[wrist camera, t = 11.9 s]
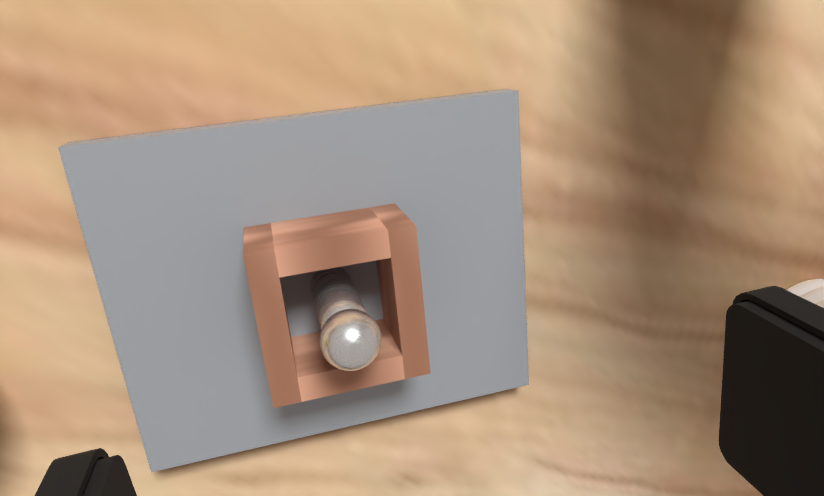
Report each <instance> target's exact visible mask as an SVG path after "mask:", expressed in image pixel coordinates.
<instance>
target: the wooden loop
mask: <svg viewBox="0 0 824 496" xmlns="http://www.w3.org/2000/svg"><path fill="white" fill-rule="evenodd" d="M243 257H244V262H245V267H246V272H247V277H248V282H249V287H250V292H251V297H252V302H253V307H254V312H255V317H256V322H257V327H258V332H259V337H260V342H261V347H262V352H263V357H264V362H265V368H266V373H267V378H268V383H269V388H270V393H271V398H272V403H273V408H277V407H281V406H286V405H290V404H295V403H299V402H304V401H308V400H313V399H317V398H322V397H326V396H331V395H335V394H340V393H344V392H349V391H353V390H358V389H363V388H367V387H372V386H376V385H381V384H385V383H390V382H394V381H399V380H403V379H408V378H412V377H417V376H421V375H426V374H430V373H431V372H430V362H429V351H428V341H427V331H426V321H425V310H424V300H423V290H422V279H421V269H420V259H419V249H418V238H417V228H416V225H415V224H414V223H413V222H412V221H411V220H410V219H409V218H408V217H407V215H406V214H405V213H404V212H403V211H402V210H401V209H400V208H399V207H398V206H397V205H396V204H395V203H394V204H387V205H381V206H375V207H369V208H362V209H356V210H350V211H343V212H337V213H331V214H324V215H318V216H312V217H306V218H299V219H293V220H287V221H280V222H274V223H268V224H261V225H255V226H249V227H244V237H243ZM375 260H376V261H377V269H378V277H379V286H380V294H381V302H382V310H383V318H384V319H379V320H375V321H376V323H377V324H378V326H379V329H380V332H381V347H380V350H379V353H378V355H377V356H376V358H375V359H374V360H373V361H372V362H371V363H370V364H369V365H368V366H366V367H364V368H362V369H360V370H356V371H345V370H341V369H338V368H336V367H334V366H333V365H331V364H330V363H329V362H328V361H327V360H326V359H325V357H324V355H323V353H322V351H321V348H320V333H321V331H319V332H314V333H309V334H304V335H299V336H294V337H291V333H290V327H289V322H288V316H287V311H286V305H285V299H284V294H283V288H282V283H281V277H285V276H291V275H297V274H302V273H308V272H313V271H319V270H325V269H330V268H336V267H342V266H347V265H353V264H359V263H364V262H370V261H375Z"/></svg>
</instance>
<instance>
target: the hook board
mask: <svg viewBox="0 0 824 496" xmlns="http://www.w3.org/2000/svg"><path fill="white" fill-rule="evenodd" d="M58 149H59V152H60V155H61V159H62V162H63V166H64V169H65V173H66V176H67V180H68V183H69V187H70V190H71V194H72V197H73V201H74V204H75V208H76V211H77V215H78V218H79V222H80V225H81V229H82V232H83V236H84V239H85V243H86V246H87V250H88V253H89V257H90V260H91V264H92V267H93V271H94V274H95V278H96V281H97V285H98V288H99V291H100V295H101V298H102V302H103V305H104V309H105V312H106V316H107V319H108V323H109V326H110V330H111V333H112V337H113V340H114V344H115V347H116V351H117V354H118V358H119V361H120V365H121V368H122V372H123V375H124V379H125V382H126V386H127V389H128V393H129V396H130V400H131V403H132V407H133V410H134V414H135V417H136V421H137V424H138V427H139V431H140V434H141V438H142V441H143V445H144V448H145V452H146V455H147V459H148V462H149V466H150V469H151V472H155V471H159V470H163V469H168V468H172V467H176V466H181V465H185V464H189V463H194V462H198V461H202V460H207V459H211V458H215V457H220V456H224V455H228V454H232V453H237V452H241V451H245V450H250V449H254V448H258V447H263V446H267V445H271V444H276V443H280V442H284V441H288V440H293V439H297V438H301V437H306V436H310V435H314V434H319V433H323V432H327V431H332V430H336V429H340V428H345V427H349V426H353V425H357V424H362V423H366V422H370V421H375V420H379V419H383V418H388V417H392V416H396V415H401V414H405V413H409V412H413V411H418V410H422V409H426V408H431V407H435V406H439V405H444V404H448V403H452V402H457V401H461V400H465V399H470V398H474V397H478V396H482V395H487V394H491V393H495V392H500V391H504V390H508V389H513V388H517V387H521V386H526V385H529V377H528V349H527V321H526V292H525V264H524V236H523V208H522V180H521V152H520V124H519V96H518V91H517V90H510V89H501V90H493V91H485V92H477V93H468V94H460V95H452V96H444V97H436V98H428V99H419V100H411V101H403V102H395V103H387V104H379V105H370V106H362V107H354V108H346V109H338V110H330V111H321V112H313V113H305V114H297V115H289V116H281V117H272V118H264V119H256V120H248V121H240V122H232V123H223V124H215V125H207V126H199V127H191V128H183V129H174V130H166V131H158V132H150V133H142V134H134V135H125V136H117V137H109V138H101V139H93V140H85V141H76V142H68V143H66V144H64V145H62V146H60V147H58ZM394 203H395V204H396V205H397V206H398V207H399V208H400V209H401V210H402V211H403V212H404V213H405V214H406V215H407V217H408V218H409V219H410V220H411V221H412V222H413V223H414V224H415V225H416V228H417V238H418V249H419V259H420V269H421V279H422V290H423V300H424V310H425V321H426V331H427V341H428V351H429V362H430V372H431V373H430V374H426V375H421V376H417V377H412V378H408V379H403V380H399V381H394V382H390V383H385V384H381V385H376V386H372V387H367V388H363V389H358V390H353V391H349V392H344V393H340V394H335V395H331V396H326V397H322V398H317V399H313V400H308V401H304V402H299V403H295V404H290V405H286V406H281V407H277V408H273V403H272V398H271V393H270V388H269V383H268V378H267V373H266V368H265V362H264V357H263V352H262V347H261V342H260V337H259V332H258V327H257V322H256V317H255V312H254V307H253V302H252V297H251V292H250V287H249V282H248V277H247V272H246V267H245V262H244V257H243V237H244V227H249V226H255V225H261V224H268V223H274V222H280V221H287V220H293V219H299V218H306V217H312V216H318V215H324V214H331V213H337V212H343V211H350V210H356V209H362V208H369V207H375V206H381V205H387V204H394ZM341 268H343V269H345V270H346V271H347V272H348V273H349V275H350V277H351V279H352V281H353V283H354V286H355V288H356V290H357V292H358V294H359V297H360V299H361V301H362V303H363V305H364V308H365V310H366V312H367V314H369V315H370V316H371V317H372V318H373V319H374V320H379V319H384V318H383V310H382V302H381V294H380V286H379V277H378V269H377V261H376V260H375V261H370V262H364V263H359V264H353V265H347V266H342V267H341ZM316 272H317V271H313V272H308V273H302V274H297V275H291V276H285V277H281V283H282V288H283V294H284V299H285V305H286V311H287V316H288V322H289V327H290V333H291V337H294V336H299V335H304V334H309V333H314V332H319V331H321V327H320V324H319V320H318V316H317V312H316V308H315V304H314V301H313V297H312V293H311V289H310V283H311V280H312V277H313V276H314V274H315V273H316Z"/></svg>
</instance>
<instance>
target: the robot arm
mask: <svg viewBox="0 0 824 496" xmlns="http://www.w3.org/2000/svg"><path fill="white" fill-rule="evenodd" d="M719 446H720V449H721V452H722V454H723V456H724V458H725V459H726V461H727V462H728V463H729V464H730V465H731V466H732V467H733V468H734V469H735V470H736V471H737V472H738V473H739V474H740V475H742V476H743V477H744V478H745V479H746V480H747V481H748V482H749V483H750V484H751V485H753V486H754V487H755V488H756V489H757V490H758V491H759V492H760V493H761V494H762V495H764V496H824V308H823V307H820V306H818V305H816V304H814V303H812V302H810V301H808V300H806V299H804V298H802V297H800V296H797V295H795V294H793V293H791V292H789V291H787V290H785V289H783V288H780V287H777V286H770V287H766V288H761V289H757V290H753V291H749V292H745V293H741V294H739V295H738V296H736V298H735V299H734V301H733V305H732V306H730V307H729V308H728V310H727V314H726V328H725V345H724V362H723V379H722V395H721V412H720V429H719ZM35 496H137V495H136V492H135V490H134V487H133V484H132V481H131V479H130V476H129V473H128V470H127V468H126V465H125V463H124V461H123V459H122V458H121V456H119V455H116V456H112V457H109V456H108V454H107V453H106V452H105V450H104V449H101V448H99V449H95V450H90V451H86V452H82V453H78V454H74V455H70V456H66V457H62V458H58V459H55V460H53V462H52V463H51V465H50V466H49V468H48V470H47V472H46V474H45V476H44V478H43V480H42V482H41V484H40V486H39V488H38V490H37V492H36V494H35Z"/></svg>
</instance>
